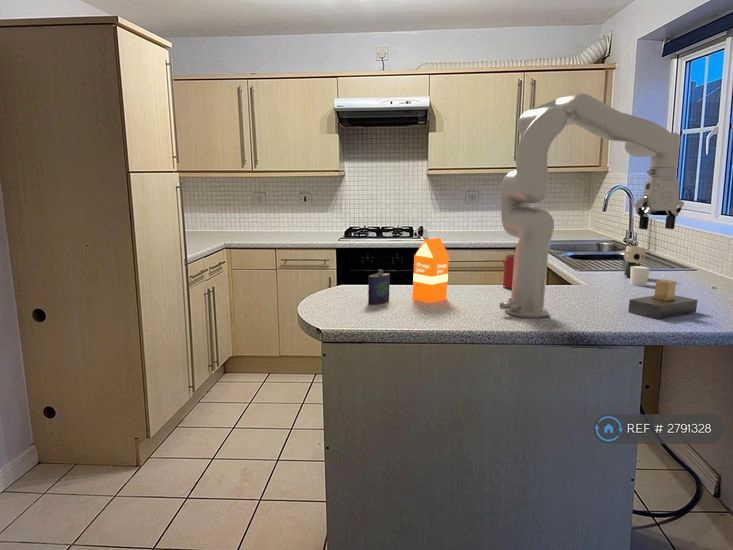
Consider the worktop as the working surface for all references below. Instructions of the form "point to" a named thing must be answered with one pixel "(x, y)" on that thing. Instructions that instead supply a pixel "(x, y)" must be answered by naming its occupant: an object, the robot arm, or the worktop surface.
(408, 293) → the worktop surface
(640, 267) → the white cube
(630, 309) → the grey slotted block
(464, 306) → the worktop surface
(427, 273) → the orange juice
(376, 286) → the flask
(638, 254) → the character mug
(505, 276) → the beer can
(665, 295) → the brass peg
